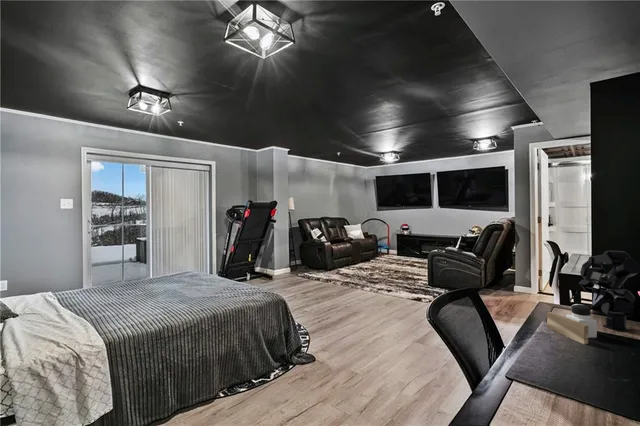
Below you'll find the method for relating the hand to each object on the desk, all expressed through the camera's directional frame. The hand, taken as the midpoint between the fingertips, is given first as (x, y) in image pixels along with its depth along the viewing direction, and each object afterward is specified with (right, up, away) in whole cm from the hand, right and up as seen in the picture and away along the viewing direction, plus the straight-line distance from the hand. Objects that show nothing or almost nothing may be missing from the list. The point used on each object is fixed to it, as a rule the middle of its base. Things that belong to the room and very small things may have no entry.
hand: (593, 305), depth 131 cm
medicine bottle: (-6, -12, -1) cm, 13 cm away
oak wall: (-13, -12, -2) cm, 17 cm away
